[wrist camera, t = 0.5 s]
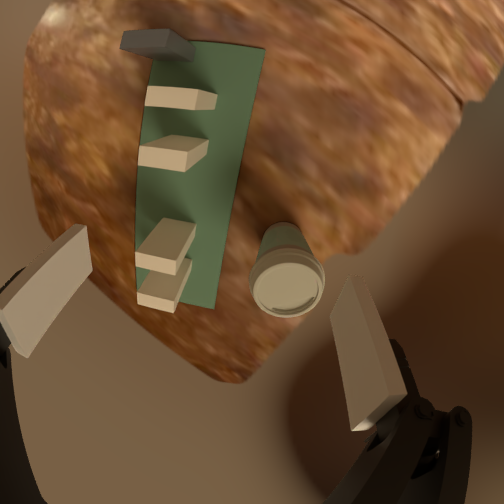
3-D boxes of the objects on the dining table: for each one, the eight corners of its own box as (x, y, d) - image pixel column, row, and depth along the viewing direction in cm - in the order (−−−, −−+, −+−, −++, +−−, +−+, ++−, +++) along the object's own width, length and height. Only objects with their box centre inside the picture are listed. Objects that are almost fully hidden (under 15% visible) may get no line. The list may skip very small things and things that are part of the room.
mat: (158, 41, 26) (157, 40, 26) (265, 50, 27) (265, 49, 26) (137, 289, 46) (137, 291, 45) (214, 307, 46) (213, 309, 46)
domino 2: (171, 134, 32) (139, 145, 23) (209, 139, 32) (187, 151, 24) (170, 149, 33) (137, 165, 24) (206, 154, 33) (184, 172, 25)
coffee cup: (248, 259, 41) (241, 314, 31) (260, 206, 37) (257, 250, 27) (303, 270, 42) (312, 326, 31) (320, 220, 38) (339, 266, 27)
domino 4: (161, 252, 41) (137, 292, 32) (192, 259, 41) (174, 301, 33) (161, 263, 42) (137, 303, 33) (191, 270, 42) (173, 313, 34)
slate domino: (159, 47, 26) (123, 31, 17) (196, 48, 26) (170, 28, 18) (156, 60, 27) (119, 48, 18) (192, 62, 27) (165, 47, 19)
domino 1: (179, 90, 29) (147, 85, 21) (217, 94, 29) (198, 89, 21) (176, 105, 30) (144, 105, 22) (214, 109, 30) (194, 110, 22)
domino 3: (163, 217, 38) (135, 251, 29) (196, 223, 38) (176, 260, 30) (162, 229, 39) (135, 266, 30) (194, 236, 39) (175, 275, 31)
